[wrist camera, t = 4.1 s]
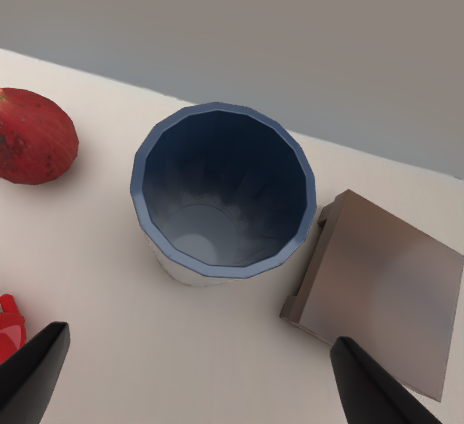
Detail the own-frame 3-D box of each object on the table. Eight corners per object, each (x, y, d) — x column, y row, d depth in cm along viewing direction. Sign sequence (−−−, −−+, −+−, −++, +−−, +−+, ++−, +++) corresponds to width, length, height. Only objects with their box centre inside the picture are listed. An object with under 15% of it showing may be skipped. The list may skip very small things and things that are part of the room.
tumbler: (170, 299, 20) (165, 311, 8) (145, 215, 21) (108, 120, 9) (252, 268, 22) (344, 240, 10) (224, 193, 23) (275, 90, 11)
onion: (86, 201, 21) (35, 149, 13) (0, 197, 19) (-110, 137, 12) (96, 135, 22) (55, 55, 15) (17, 128, 21) (-70, 37, 14)
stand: (394, 383, 21) (440, 402, 18) (275, 318, 21) (297, 323, 17) (422, 261, 25) (465, 256, 21) (322, 204, 25) (348, 188, 21)
